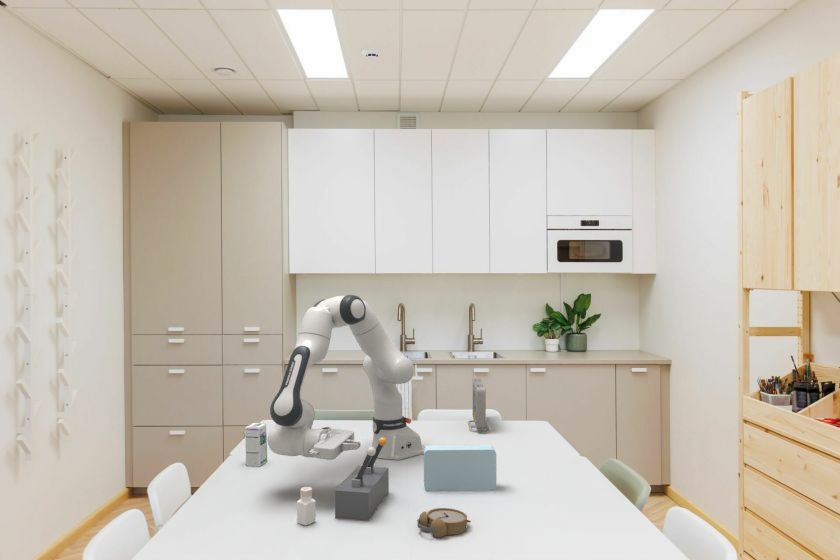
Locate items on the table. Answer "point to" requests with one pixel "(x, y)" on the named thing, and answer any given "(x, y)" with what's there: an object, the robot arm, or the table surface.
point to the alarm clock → (443, 521)
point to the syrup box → (256, 444)
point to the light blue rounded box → (460, 468)
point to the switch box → (361, 494)
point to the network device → (479, 407)
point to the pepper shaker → (306, 507)
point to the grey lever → (366, 462)
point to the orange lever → (377, 451)
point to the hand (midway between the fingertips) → (359, 445)
